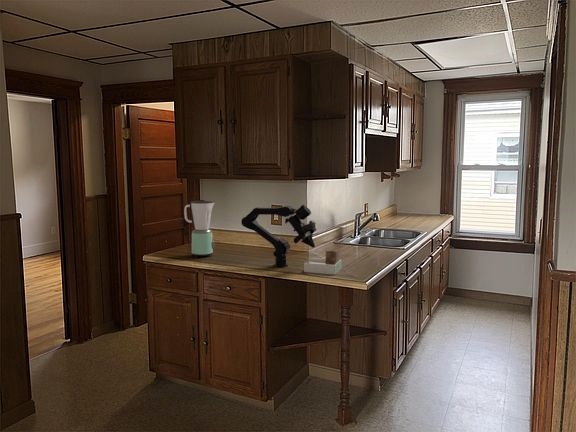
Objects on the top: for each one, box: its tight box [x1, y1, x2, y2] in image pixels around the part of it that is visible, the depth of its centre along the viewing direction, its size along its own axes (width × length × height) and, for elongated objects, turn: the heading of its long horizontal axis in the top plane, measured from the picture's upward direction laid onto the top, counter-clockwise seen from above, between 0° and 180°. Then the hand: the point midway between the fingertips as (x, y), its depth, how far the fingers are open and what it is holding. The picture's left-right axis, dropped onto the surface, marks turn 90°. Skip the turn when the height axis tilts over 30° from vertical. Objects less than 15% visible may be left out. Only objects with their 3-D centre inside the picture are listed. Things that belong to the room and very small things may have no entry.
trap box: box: [303, 257, 342, 275], centre depth 266 cm, size 17×15×5 cm
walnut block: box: [325, 248, 340, 265], centre depth 267 cm, size 6×6×8 cm
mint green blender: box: [183, 199, 216, 258], centre depth 302 cm, size 19×13×35 cm
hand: (314, 247), depth 269 cm, fingers closed
